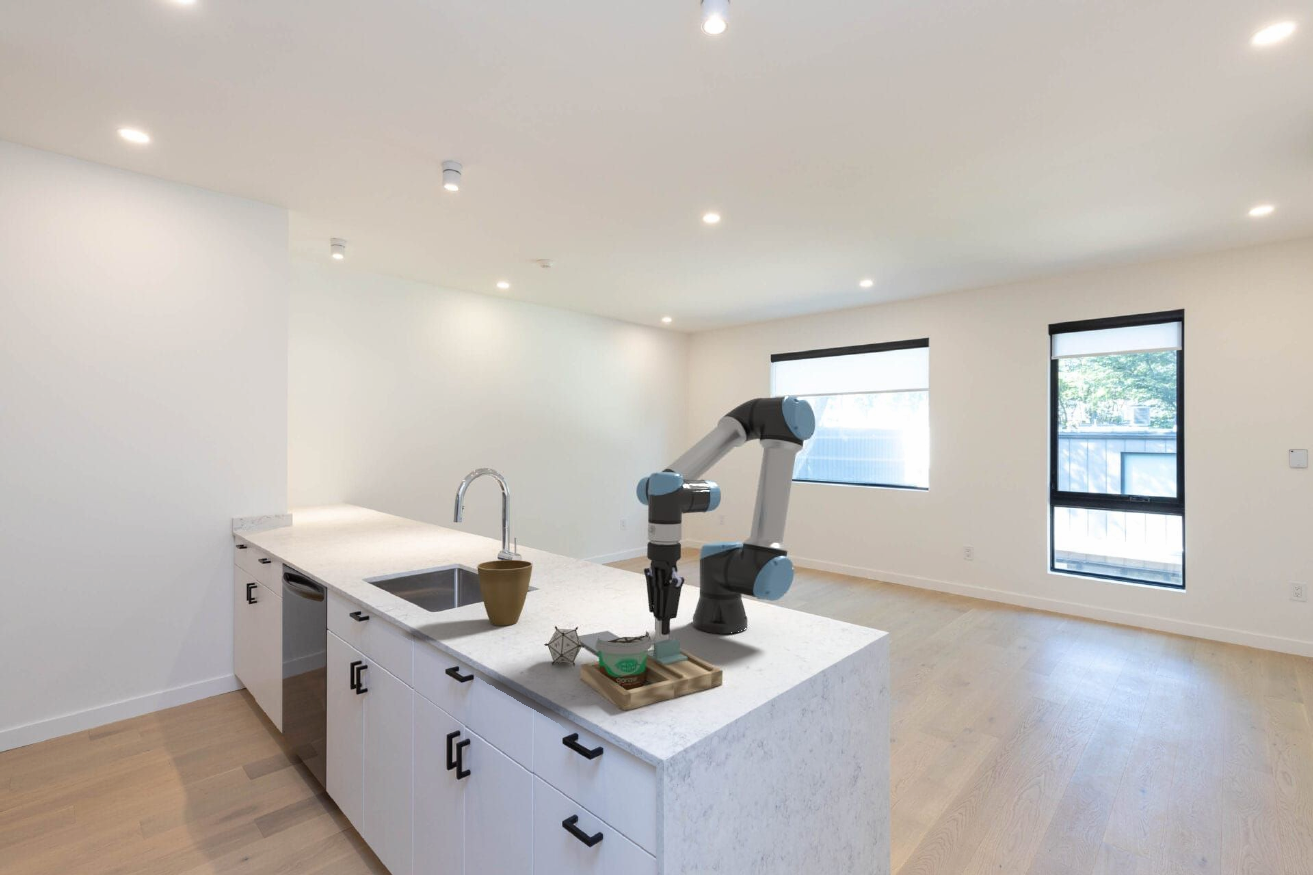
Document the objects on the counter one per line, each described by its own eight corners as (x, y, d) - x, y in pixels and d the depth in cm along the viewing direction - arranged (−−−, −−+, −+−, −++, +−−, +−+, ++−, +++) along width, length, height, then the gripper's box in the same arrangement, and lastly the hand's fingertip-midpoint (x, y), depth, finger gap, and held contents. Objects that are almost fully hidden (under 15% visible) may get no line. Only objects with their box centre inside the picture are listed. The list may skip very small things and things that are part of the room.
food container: (606, 698, 118) (607, 647, 118) (594, 687, 124) (595, 638, 124) (661, 687, 124) (662, 639, 124) (647, 677, 129) (648, 630, 130)
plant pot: (542, 620, 169) (543, 563, 169) (502, 633, 157) (504, 572, 157) (505, 611, 177) (506, 556, 177) (464, 623, 165) (465, 564, 165)
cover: (669, 650, 138) (670, 634, 138) (687, 659, 132) (688, 643, 132) (645, 655, 134) (645, 639, 134) (662, 665, 128) (663, 648, 128)
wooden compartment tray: (672, 658, 141) (673, 642, 141) (722, 684, 126) (722, 667, 126) (580, 678, 128) (580, 661, 128) (623, 710, 113) (624, 691, 113)
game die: (566, 682, 135) (561, 656, 129) (540, 661, 139) (534, 635, 133) (593, 655, 140) (590, 628, 134) (567, 635, 145) (563, 609, 139)
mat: (607, 632, 159) (607, 630, 159) (640, 651, 146) (640, 648, 146) (573, 639, 153) (573, 636, 153) (603, 658, 140) (603, 655, 140)
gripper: (634, 538, 138) (632, 641, 138) (666, 547, 127) (664, 659, 127) (662, 536, 142) (659, 636, 142) (695, 544, 131) (692, 653, 131)
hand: (661, 647), depth 134 cm, fingers closed
